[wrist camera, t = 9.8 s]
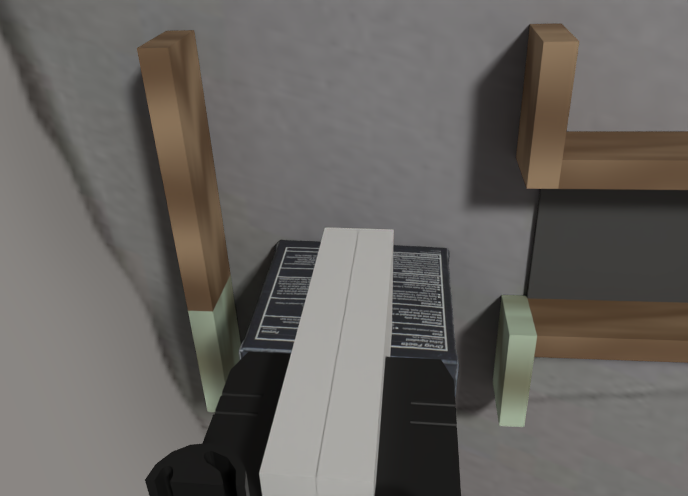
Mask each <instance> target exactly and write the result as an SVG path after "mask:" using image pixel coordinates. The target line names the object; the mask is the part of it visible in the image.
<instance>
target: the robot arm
mask: <svg viewBox="0 0 688 496" xmlns="http://www.w3.org/2000/svg"><path fill="white" fill-rule="evenodd" d="M393 233H394V230H391V229H356V228H325V229H324V233H323V237H322V240H321V244H320V248H319V252H318V255H317V259H316V263H315V267H314V270H313V274H312V278H311V282H310V285H309V289H308V293H307V297H306V300H305V304H304V308H303V311H302V315H301V319H300V323H299V326H298V330H297V334H296V338H295V341H294V345H293V349H292V353H291V354H290V353H270V352H250V351H249V352H248V353H247V354H246V355H245V356H244V357H243V358H242V359H241V360H240V361H239V362H238V363H237V364H236V365H235V366H234V367H233V368H232V369H231V370H230V372H229V375H228V378H227V380H226V383H225V386H224V388H223V391H222V396H220V399H219V401H218V404H217V407H216V409H215V415H213V417H212V420H211V422H210V425H209V428H208V430H207V433H206V436H205V438H204V441H203V444H194V445H189V446H186V447H184V448H181V449H178V450H176V451H173V452H171V453H170V454H169V455H167V456H166V457H165V458H163V459H162V460H161V461H159V462H158V463H157V464H156V465H155V466H154V468H153V469H152V471H151V472H150V473H149V475H148V476H147V478H146V479H145V481H146V485H147V488H148V492H149V495H150V496H461V488H460V471H459V455H458V438H457V428H456V424H457V422H456V408H455V389H454V379H453V378H452V376H451V374H450V373H449V371H448V370H447V368H446V366H445V365H444V363H443V362H442V360H441V359H425V358H405V357H390V351H391V336H392V296H393Z"/></svg>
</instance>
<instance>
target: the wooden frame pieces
mask: <svg viewBox="0 0 688 496" xmlns="http://www.w3.org/2000/svg"><path fill="white" fill-rule="evenodd" d="M578 47H579V41H578V40H577V39H576V38H575V37H574V36H573V35H572V34H571V33H570V32H569V31H568V30H567V29H566V28H565V27H564V26H563V25H562V24H530V28H529V38H528V47H527V57H526V67H525V76H524V86H523V95H522V105H521V115H520V124H519V134H518V143H517V153H516V159H517V162H518V165H519V168H520V171H521V174H522V177H523V179H524V182H525V185H526V188H527V189H635V190H688V132H566V131H567V124H568V117H569V110H570V103H571V96H572V89H573V82H574V75H575V68H576V61H577V54H578ZM137 51H138V56H139V62H140V67H141V72H142V77H143V82H144V87H145V92H146V98H147V103H148V108H149V113H150V118H151V123H152V128H153V134H154V139H155V144H156V149H157V154H158V159H159V164H160V170H161V175H162V180H163V185H164V190H165V195H166V200H167V206H168V211H169V216H170V221H171V226H172V231H173V236H174V242H175V247H176V252H177V257H178V262H179V267H180V272H181V277H182V283H183V288H184V293H185V298H186V303H187V308H188V313H189V319H190V324H191V329H192V334H193V339H194V344H195V349H196V355H197V360H198V365H199V370H200V375H201V380H202V385H203V391H204V396H205V401H206V406H207V411H208V412H215V409H216V407H217V404H218V401H219V399H220V396H222V391H223V388H224V386H225V383H226V380H227V378H228V375H229V372H230V370H231V369H232V368H233V367H234V366H235V365H236V364H237V363H238V362H239V361H240V357H239V348H240V346H241V342H240V335H239V329H238V322H237V315H236V308H235V302H234V295H233V288H232V282H231V275H230V268H229V261H228V255H227V248H226V241H225V234H224V228H223V221H222V214H221V208H220V201H219V194H218V187H217V181H216V174H215V167H214V160H213V154H212V147H211V140H210V134H209V127H208V120H207V113H206V107H205V100H204V93H203V86H202V80H201V73H200V66H199V60H198V53H197V46H196V39H195V33H194V30H187V31H165V32H164V33H162V34H160V35H158V36H157V37H155V38H153V39H152V40H150V41H148V42H147V43H145V44H143V45H141V46H140V47H138V48H137ZM534 357H550V358H577V359H605V360H632V361H660V362H687V363H688V303H678V302H641V301H603V300H566V299H528V298H527V296H519V295H502V297H501V307H500V316H499V326H498V335H497V345H496V355H495V364H494V374H493V387H494V394H495V401H496V408H497V415H498V421H499V426H513V427H524V424H525V417H526V410H527V403H528V396H529V389H530V382H531V375H532V368H533V361H534Z"/></svg>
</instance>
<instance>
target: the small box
mask: <svg viewBox="0 0 688 496" xmlns="http://www.w3.org/2000/svg"><path fill="white" fill-rule="evenodd" d="M320 244H321V242H314V241H289V240H280V241H279V242H278V243H277V244H276V245H275V250H274V251H275V254H274V257H273V259H272V263H271V265H270V268H269V271H268V273H267V276H266V279H265V281H264V284H263V287H262V290H261V293H260V296H259V299H258V302H257V305H256V307H255V310H254V312H253V316H252V319H251V322H250V324H249V327H248V330H247V333H246V336H245V338H244V340H243V342H242V344H241V346H240V348H239V357H240V360H241V359H242V358H243V357H244V356H245V355H246V354H247V353H248V352H249V351H250V352H270V353H290V354H291V353H292V349H293V345H294V341H295V338H296V334H297V330H298V326H299V323H300V319H301V315H302V311H303V308H304V304H305V300H306V297H307V293H308V289H309V285H310V282H311V278H312V274H313V270H314V267H315V263H316V259H317V255H318V252H319V248H320ZM390 357H405V358H425V359H441V360H442V362H443V363H444V365H445V366H446V368H447V370H448V371H449V373H450V374H451V376H452V378H453V379H454V389H455V396H456V387H457V378H458V369H459V361H458V356H457V351H456V349H455V338H454V324H453V308H452V296H451V287H450V273H449V250H448V249H447V248H434V247H416V246H396V245H393V296H392V336H391V351H390Z"/></svg>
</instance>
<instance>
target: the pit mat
mask: <svg viewBox="0 0 688 496" xmlns="http://www.w3.org/2000/svg"><path fill="white" fill-rule="evenodd" d="M527 298H528V299H566V300H603V301H641V302H678V303H688V190H635V189H540V195H539V203H538V211H537V219H536V227H535V234H534V242H533V250H532V258H531V266H530V274H529V281H528V289H527Z"/></svg>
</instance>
